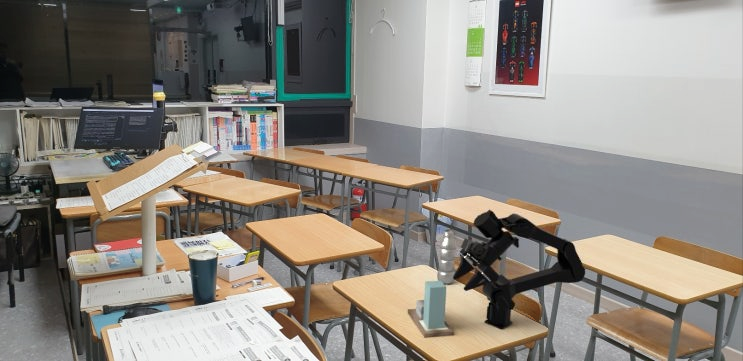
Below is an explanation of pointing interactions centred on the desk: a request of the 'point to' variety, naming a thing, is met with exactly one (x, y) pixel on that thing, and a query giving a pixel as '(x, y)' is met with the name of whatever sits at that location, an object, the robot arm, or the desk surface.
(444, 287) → the pillar block
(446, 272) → the silver ribbed bottle
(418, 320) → the base plate
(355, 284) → the desk surface
